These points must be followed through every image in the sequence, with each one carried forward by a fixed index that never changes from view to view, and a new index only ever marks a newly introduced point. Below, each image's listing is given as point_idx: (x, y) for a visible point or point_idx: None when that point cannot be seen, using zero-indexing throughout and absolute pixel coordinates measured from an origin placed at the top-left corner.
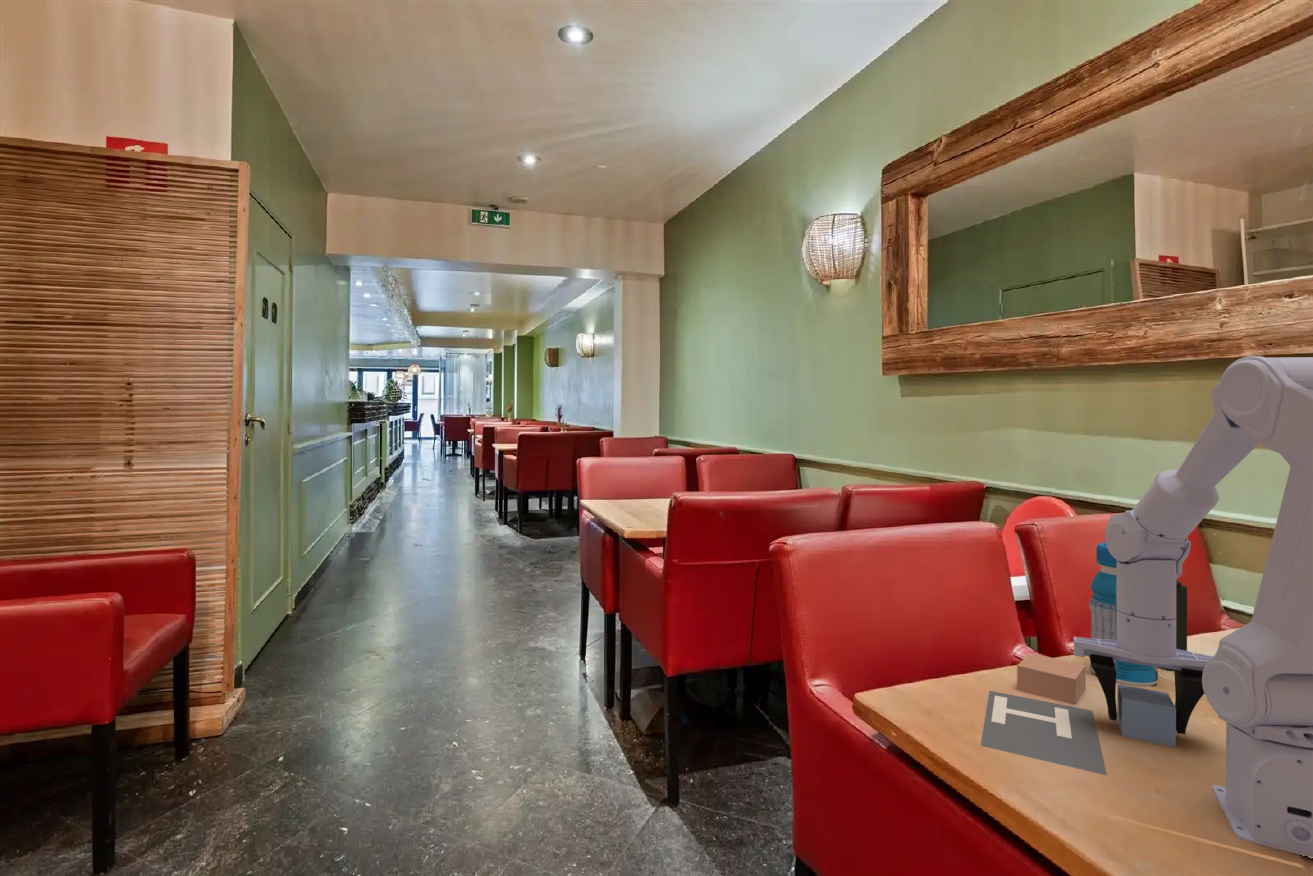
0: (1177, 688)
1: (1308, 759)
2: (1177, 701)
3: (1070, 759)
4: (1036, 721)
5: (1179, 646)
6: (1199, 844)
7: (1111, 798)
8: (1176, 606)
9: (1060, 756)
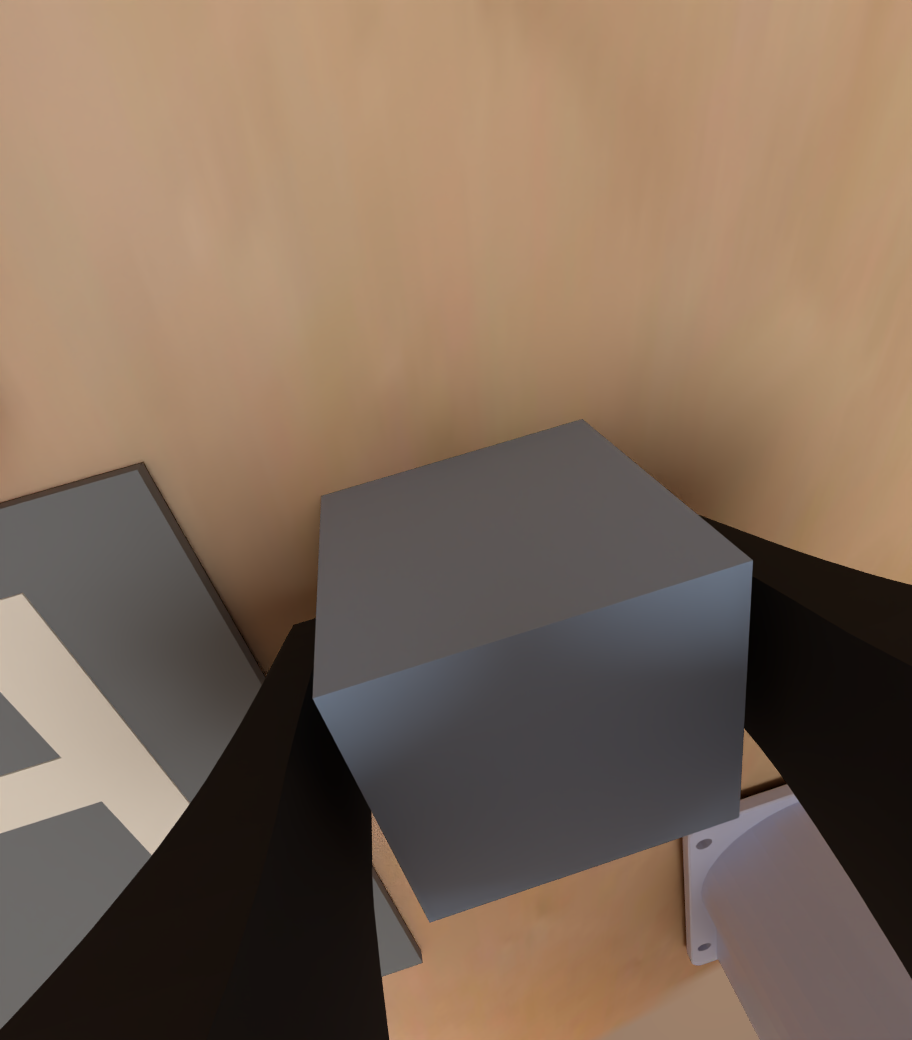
0: (880, 765)
1: None
2: (780, 664)
3: None
4: (27, 851)
5: None
6: (615, 997)
7: (451, 1001)
8: None
9: None
